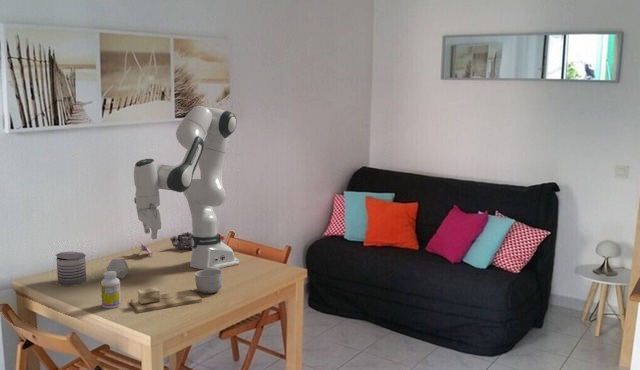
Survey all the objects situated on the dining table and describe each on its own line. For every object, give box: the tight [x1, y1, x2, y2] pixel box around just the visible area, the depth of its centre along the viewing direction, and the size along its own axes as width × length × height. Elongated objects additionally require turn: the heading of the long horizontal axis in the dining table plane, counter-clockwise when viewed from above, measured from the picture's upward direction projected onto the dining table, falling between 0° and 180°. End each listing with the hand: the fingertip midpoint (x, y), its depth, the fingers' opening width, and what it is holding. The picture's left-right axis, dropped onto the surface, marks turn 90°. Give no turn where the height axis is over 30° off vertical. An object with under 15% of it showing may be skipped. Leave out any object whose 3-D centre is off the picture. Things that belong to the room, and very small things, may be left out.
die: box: [106, 258, 130, 279], centre depth 269 cm, size 8×9×10 cm
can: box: [55, 250, 87, 287], centre depth 262 cm, size 11×11×12 cm
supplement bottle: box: [100, 271, 122, 309], centre depth 235 cm, size 7×7×13 cm
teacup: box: [194, 268, 223, 294], centre depth 255 cm, size 14×11×8 cm
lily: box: [136, 238, 153, 257], centre depth 301 cm, size 11×11×9 cm
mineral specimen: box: [169, 231, 193, 250], centre depth 313 cm, size 13×10×11 cm
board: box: [129, 289, 203, 314], centre depth 241 cm, size 24×12×1 cm, turn 120°
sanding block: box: [137, 287, 161, 305], centre depth 237 cm, size 7×4×4 cm, turn 120°
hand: (150, 235), depth 247 cm, fingers open, 8 cm apart
